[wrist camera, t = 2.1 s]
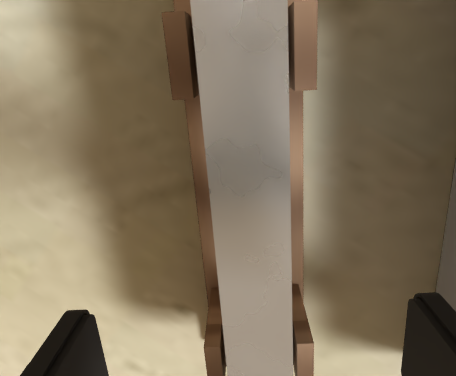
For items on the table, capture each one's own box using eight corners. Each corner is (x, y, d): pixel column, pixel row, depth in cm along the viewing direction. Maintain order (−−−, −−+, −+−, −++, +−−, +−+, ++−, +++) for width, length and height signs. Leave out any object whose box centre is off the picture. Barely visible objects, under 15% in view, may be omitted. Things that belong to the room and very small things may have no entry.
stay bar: (197, -15, 13) (186, -34, 11) (276, -22, 13) (287, -43, 10) (233, 379, 20) (233, 431, 18) (286, 377, 20) (294, 429, 17)
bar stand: (173, -20, 17) (144, -54, 12) (299, -32, 17) (327, -72, 11) (214, 341, 25) (207, 419, 19) (301, 338, 24) (318, 416, 19)
